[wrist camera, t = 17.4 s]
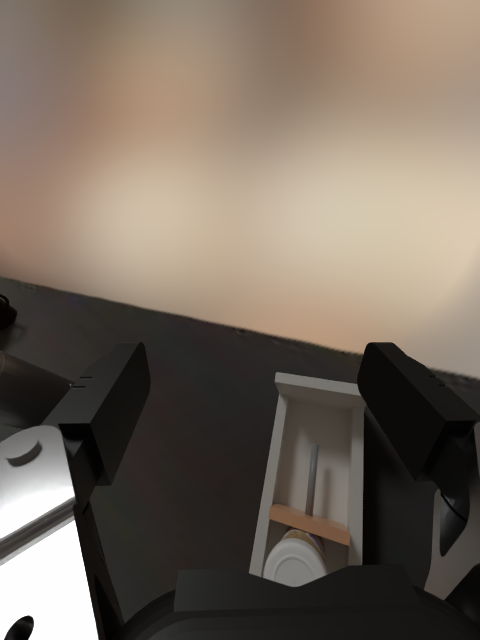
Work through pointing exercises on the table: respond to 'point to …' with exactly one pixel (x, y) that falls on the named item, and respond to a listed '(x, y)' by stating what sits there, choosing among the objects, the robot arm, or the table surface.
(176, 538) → the table surface
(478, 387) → the table surface
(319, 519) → the pusher
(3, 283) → the table surface
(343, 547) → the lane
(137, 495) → the table surface
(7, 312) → the coffee mug
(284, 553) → the sprinkles bottle
